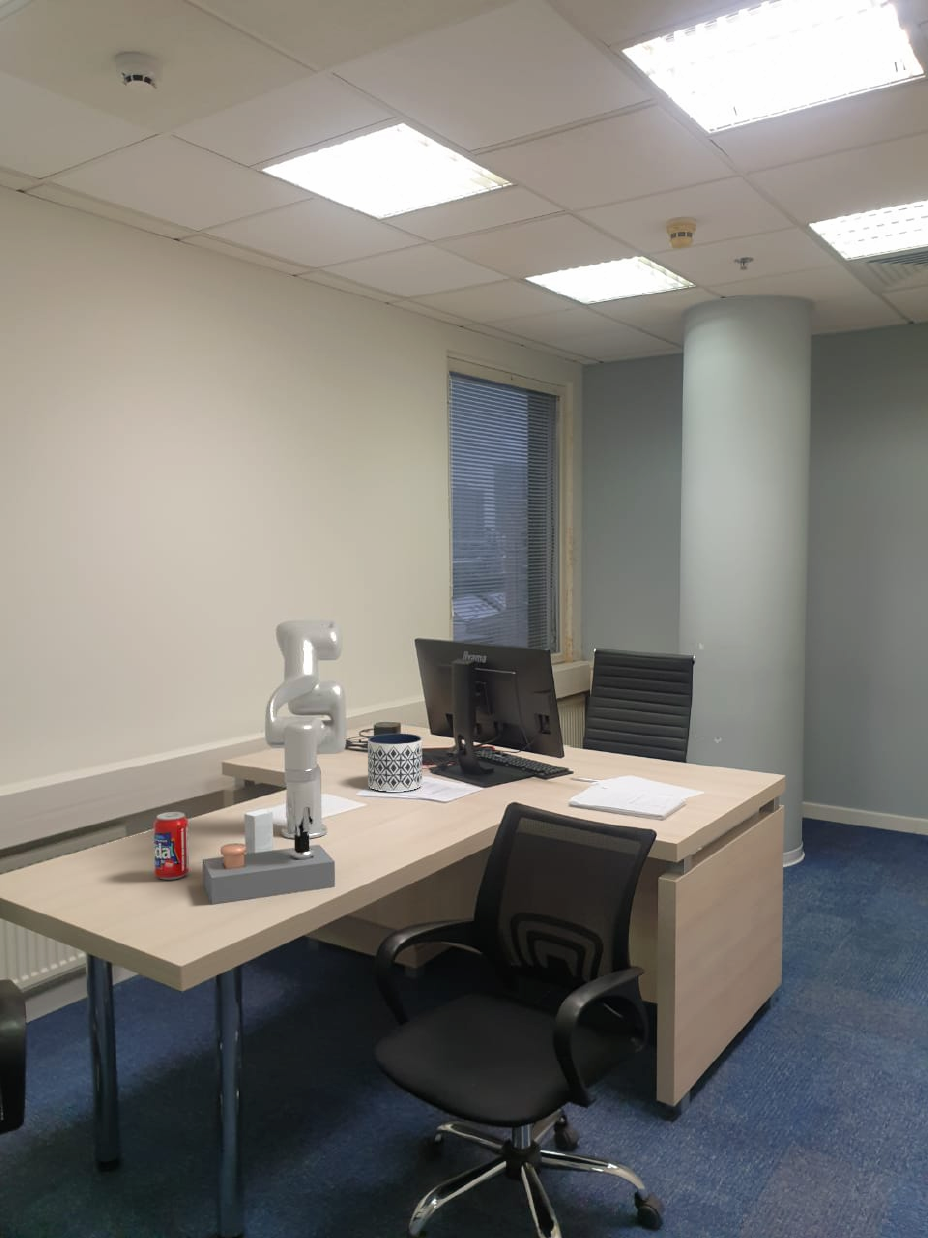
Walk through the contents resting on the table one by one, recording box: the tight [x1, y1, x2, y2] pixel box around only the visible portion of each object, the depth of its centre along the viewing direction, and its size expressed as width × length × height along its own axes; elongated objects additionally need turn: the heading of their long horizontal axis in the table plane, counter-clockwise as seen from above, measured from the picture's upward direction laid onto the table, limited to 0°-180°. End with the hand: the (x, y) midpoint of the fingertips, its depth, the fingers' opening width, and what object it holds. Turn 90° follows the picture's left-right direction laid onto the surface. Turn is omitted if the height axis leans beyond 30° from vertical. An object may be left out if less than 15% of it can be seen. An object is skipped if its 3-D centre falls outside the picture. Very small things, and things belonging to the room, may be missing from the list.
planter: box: [367, 733, 423, 791], centre depth 313 cm, size 18×18×16 cm
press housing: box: [202, 844, 336, 906], centre depth 218 cm, size 14×28×6 cm, turn 114°
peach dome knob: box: [220, 842, 246, 869], centre depth 214 cm, size 6×6×6 cm
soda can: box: [153, 811, 190, 881], centre depth 224 cm, size 8×8×15 cm
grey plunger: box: [290, 848, 314, 860], centre depth 221 cm, size 6×6×6 cm
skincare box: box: [243, 808, 275, 854], centre depth 238 cm, size 6×4×12 cm
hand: (301, 851), depth 221 cm, fingers closed
